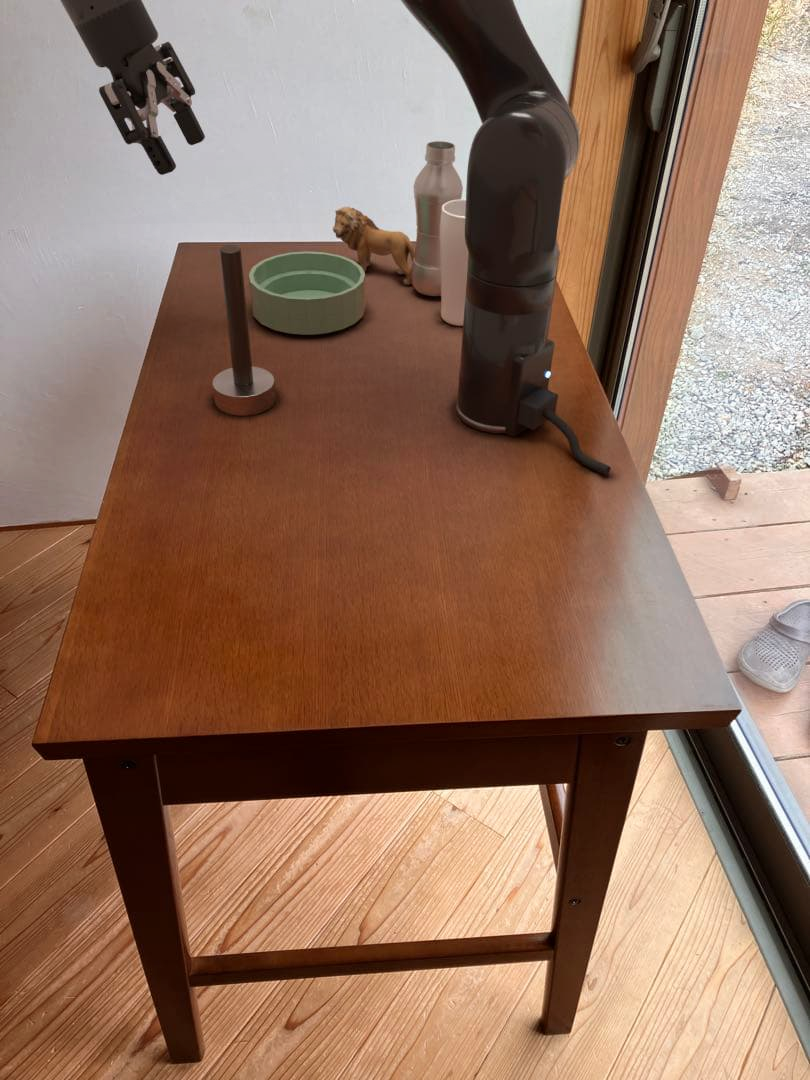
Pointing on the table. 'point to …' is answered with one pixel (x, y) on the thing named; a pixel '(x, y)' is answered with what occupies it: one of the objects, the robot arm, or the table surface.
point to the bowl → (307, 292)
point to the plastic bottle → (432, 213)
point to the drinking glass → (453, 261)
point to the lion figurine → (372, 240)
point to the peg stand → (240, 349)
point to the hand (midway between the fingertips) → (183, 156)
